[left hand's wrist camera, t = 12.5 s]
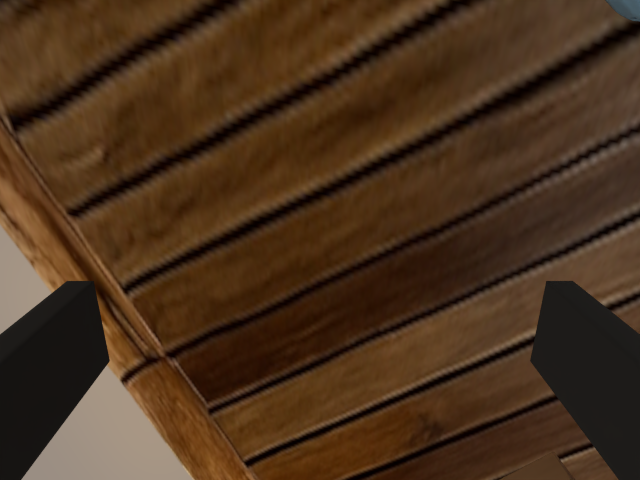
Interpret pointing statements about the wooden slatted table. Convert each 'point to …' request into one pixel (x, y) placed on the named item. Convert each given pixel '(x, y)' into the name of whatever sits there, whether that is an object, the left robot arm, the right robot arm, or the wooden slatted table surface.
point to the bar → (542, 470)
